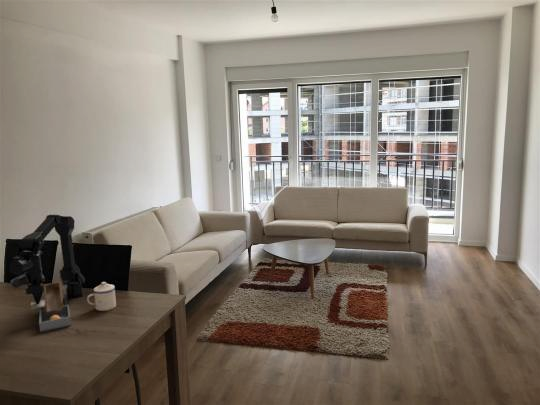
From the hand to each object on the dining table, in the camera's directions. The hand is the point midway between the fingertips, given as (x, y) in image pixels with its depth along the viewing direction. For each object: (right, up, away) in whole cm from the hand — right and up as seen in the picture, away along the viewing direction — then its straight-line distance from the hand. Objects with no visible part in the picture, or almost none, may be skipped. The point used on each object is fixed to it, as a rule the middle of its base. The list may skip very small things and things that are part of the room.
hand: (37, 303), depth 177 cm
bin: (+7, -8, 0) cm, 11 cm away
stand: (+2, -6, +10) cm, 12 cm away
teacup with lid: (+22, -5, +13) cm, 26 cm away
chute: (0, -3, +9) cm, 9 cm away
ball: (+9, -6, -4) cm, 11 cm away
